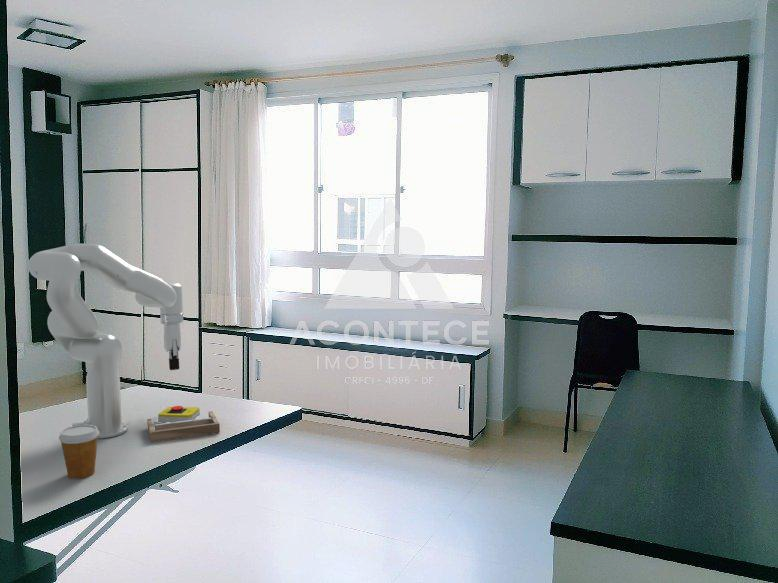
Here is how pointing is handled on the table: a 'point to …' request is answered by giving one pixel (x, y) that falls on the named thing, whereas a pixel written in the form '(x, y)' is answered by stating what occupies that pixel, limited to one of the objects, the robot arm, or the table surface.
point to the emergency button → (178, 414)
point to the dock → (183, 430)
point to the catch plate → (182, 424)
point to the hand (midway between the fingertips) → (174, 369)
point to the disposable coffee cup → (79, 450)
